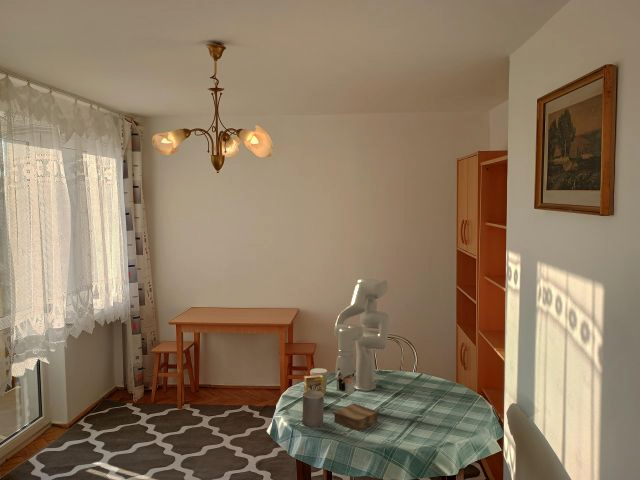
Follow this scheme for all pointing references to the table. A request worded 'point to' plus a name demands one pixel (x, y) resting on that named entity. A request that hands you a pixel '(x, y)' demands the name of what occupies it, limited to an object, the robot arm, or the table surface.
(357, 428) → the walnut stand
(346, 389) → the housing base
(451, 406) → the table surface
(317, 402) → the pillar candle
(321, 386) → the candy box
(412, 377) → the table surface
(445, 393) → the table surface
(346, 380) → the cover
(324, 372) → the coffee cup
